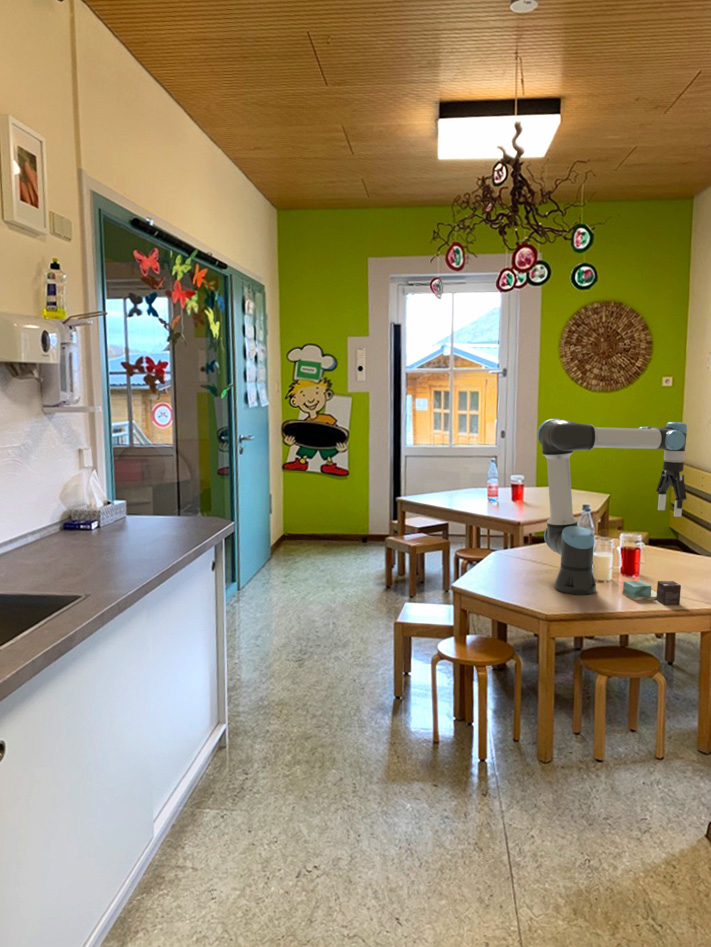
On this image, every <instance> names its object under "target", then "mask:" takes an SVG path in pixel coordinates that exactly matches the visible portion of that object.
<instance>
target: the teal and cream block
mask: <svg viewBox="0 0 711 947" xmlns="http://www.w3.org/2000/svg"><path fill="white" fill-rule="evenodd" d="M622 586H623V587H622V589H623V590H622V591H621V594H622V595H624V596H625V597H628V598H629V599H631V600H633V601H644V600H645V601H649V600H656V597H657V591H654V590H653V589H652V585H650V584H649V583H647V582H644V581H643V580H624V581H623V585H622Z"/></svg>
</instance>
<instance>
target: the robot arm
mask: <svg viewBox="0 0 711 947" xmlns="http://www.w3.org/2000/svg"><path fill="white" fill-rule="evenodd" d="M687 435H688V426H687V424H686V423H685V422H679V421H678V422H675V421H669V422H667V423H666V426H663V427H662V426H640V427H638V428H637V427H636V428H633V427H632V428H631V427H630V428H629V427H628V428H627V427H598V426H596V427H595V426H594V425H593V424H589V423H587V424H585V423H578V422H576V421H575V422H574V421H571V420H565V419H560V418H550V419H547V420H544V421H543V422H542V423H541V424H540V425H539V427H538V430H537V434H536V436H537V440H538V442H539V443H540V445H541V451H542V456H543V457H545V458H546V464H547V465H546V466H547V467H546V468H547V479H548V480H547V481H548V496H549V498H548V499H549V512H550V513H549V514H550V517H549V518H548V519H547V521H546V525H547V527H546V528H545V530H544V533H543V534H544V535H543V538H544V542H545V544H546V546H547V547H548V548H549V549H551V551H553V552H555V553H557V554H559V555H560V568H559V571H558V574H557V575H556V577H555V581H554V588H555V590H557V591H559V592H561V593H565V594H571V595H577V596H578V595H579V596H580V595H581V596H582V595H591V594H595V592H596V591H597V585H596V581H595V580H596V579H595V577H594V572H593V564H594V563H593V560H594V548H595V547H594V546H595V536H594V533H593V531H592V530H590V529H588V528H586V527H582V526H579V525H578V519H577V518H576V517H575V516H574V512H573V497H572V494H573V493H572V481H571V480H572V478H571V462H570V461H571V460H570V457H571V456H572V454H573V453H574V451H592V450H593V449H595V448H604V449H607V448H609V449H610V448H611V449H613V448H614V449H649V450H651V449H652V450H653V449H654V450H656V449H657V450H664V451H663V452H664V453H663V462H662V463H663V464H662V471H661V474H660V478H659V481H658V483H657V487H656V489H655V490H656V492H657V493H658V500H657V501H658V503H657V505H658V506H657V511H665V510H666V505H667V504H666V502H667V491H668V489H669V487H670V486H672V488H673V492H674V495H675V499H674V508H673V517H675V518H676V517H680V518H681V517H682V512H683V502H684V500H687V493H686V486H685V485H686V484H685V475H684V474H681V472H684V468H685V463H684V462H683V461H685V456H686V452H685V451H686V445H687Z"/></svg>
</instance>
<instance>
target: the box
mask: <svg viewBox="0 0 711 947" xmlns="http://www.w3.org/2000/svg"><path fill="white" fill-rule="evenodd" d="M656 584H657V585H656V587H657V588H656V592H657V597H656V599H655V601H657V602H659V603H660V604H662V605H663V606H670V605H672V606H673V605H674V606H675V605H676V606H677V605H678V606H679V605H681V604H680V603H681V590H682V586H681V584H679V583H677V582H675V581H674V580H657V583H656Z"/></svg>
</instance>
